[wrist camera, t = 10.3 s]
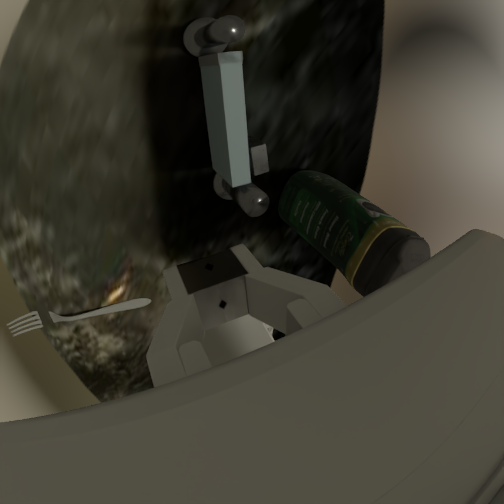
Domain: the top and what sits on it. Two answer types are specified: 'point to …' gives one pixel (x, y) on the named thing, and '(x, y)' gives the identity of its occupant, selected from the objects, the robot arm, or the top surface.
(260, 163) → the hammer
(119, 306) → the fork
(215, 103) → the grey flat block
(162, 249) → the top surface
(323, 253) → the coffee jar
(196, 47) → the round knob
